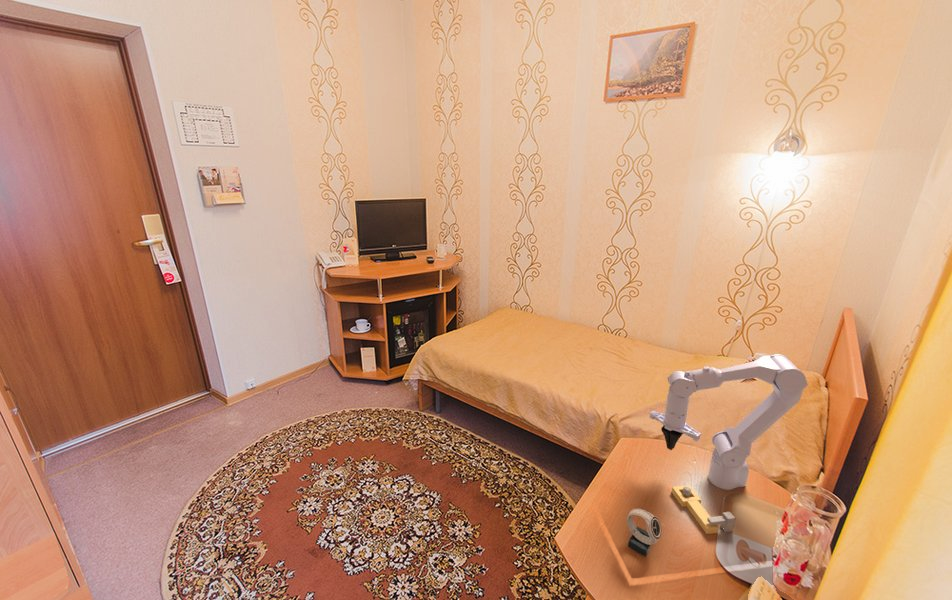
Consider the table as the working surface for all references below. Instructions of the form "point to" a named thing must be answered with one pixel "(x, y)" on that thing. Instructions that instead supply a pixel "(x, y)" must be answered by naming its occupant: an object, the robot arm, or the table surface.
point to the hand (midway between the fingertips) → (670, 447)
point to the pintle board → (724, 520)
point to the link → (694, 508)
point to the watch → (643, 531)
